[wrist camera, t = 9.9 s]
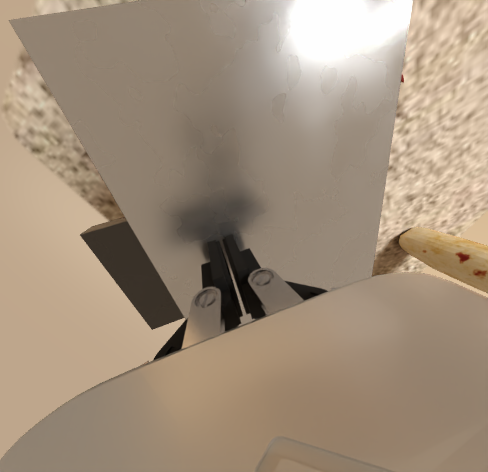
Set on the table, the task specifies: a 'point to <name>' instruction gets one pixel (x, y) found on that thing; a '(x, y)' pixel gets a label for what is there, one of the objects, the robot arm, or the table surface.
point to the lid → (229, 133)
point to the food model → (449, 255)
